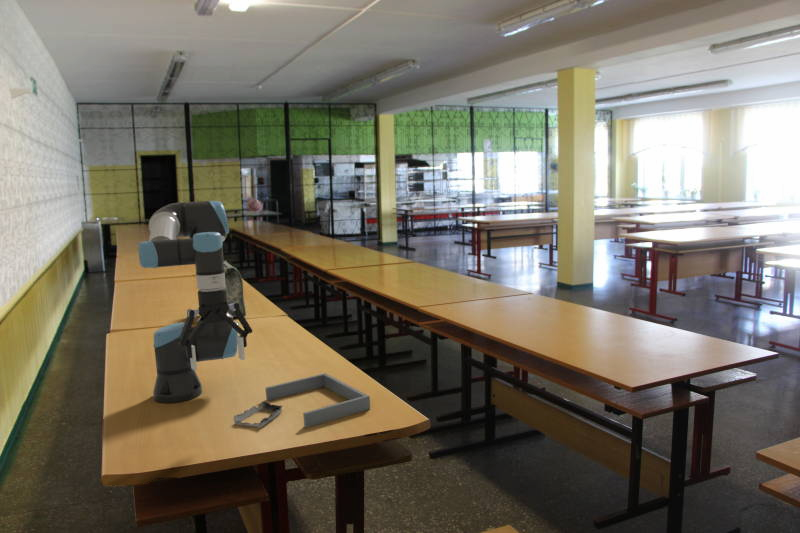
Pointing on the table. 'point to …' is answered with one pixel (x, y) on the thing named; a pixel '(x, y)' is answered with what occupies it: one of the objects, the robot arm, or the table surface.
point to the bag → (234, 288)
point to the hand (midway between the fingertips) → (218, 363)
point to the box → (328, 413)
